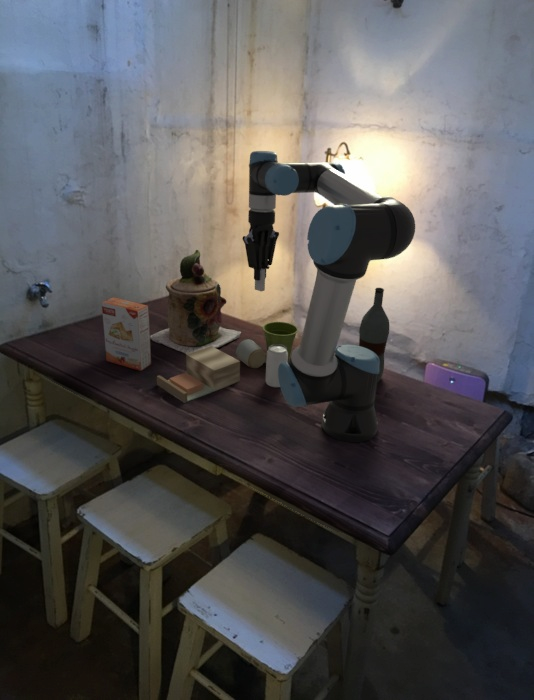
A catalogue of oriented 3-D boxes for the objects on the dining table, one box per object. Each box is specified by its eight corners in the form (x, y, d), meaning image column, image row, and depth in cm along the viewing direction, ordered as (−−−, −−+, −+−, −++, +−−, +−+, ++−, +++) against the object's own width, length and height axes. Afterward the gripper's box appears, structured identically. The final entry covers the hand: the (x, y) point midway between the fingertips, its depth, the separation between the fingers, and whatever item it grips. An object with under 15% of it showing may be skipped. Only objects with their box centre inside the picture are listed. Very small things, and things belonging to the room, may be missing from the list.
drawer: (214, 391, 172) (214, 382, 170) (184, 403, 165) (184, 393, 164) (186, 374, 181) (186, 365, 180) (157, 384, 174) (156, 376, 173)
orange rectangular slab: (187, 389, 167) (187, 395, 168) (203, 383, 171) (203, 389, 172) (169, 378, 173) (169, 384, 174) (185, 372, 177) (185, 378, 178)
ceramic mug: (248, 371, 184) (249, 350, 181) (235, 362, 190) (236, 340, 187) (275, 365, 190) (276, 344, 187) (261, 355, 196) (262, 335, 193)
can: (290, 383, 178) (292, 348, 173) (276, 390, 174) (278, 354, 169) (275, 376, 182) (277, 342, 177) (261, 382, 178) (262, 347, 173)
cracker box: (105, 362, 186) (100, 301, 177) (117, 355, 191) (113, 296, 182) (140, 372, 181) (136, 310, 172) (152, 364, 186) (149, 304, 177)
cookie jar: (146, 340, 203) (141, 252, 190) (192, 320, 222) (191, 239, 208) (198, 360, 191) (198, 267, 177) (243, 337, 209) (245, 252, 196)
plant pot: (290, 369, 187) (292, 337, 183) (256, 362, 191) (257, 331, 186) (300, 354, 198) (302, 324, 193) (267, 348, 201) (269, 319, 196)
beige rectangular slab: (239, 381, 178) (240, 361, 175) (214, 391, 172) (214, 370, 169) (211, 365, 187) (211, 346, 184) (186, 374, 181) (186, 354, 178)
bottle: (387, 383, 181) (400, 293, 168) (359, 385, 179) (370, 294, 166) (376, 370, 189) (388, 283, 177) (349, 371, 187) (360, 284, 175)
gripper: (268, 205, 167) (265, 282, 176) (235, 209, 158) (234, 291, 168) (287, 208, 162) (283, 288, 172) (255, 214, 154) (253, 297, 163)
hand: (259, 289), depth 170 cm, fingers closed
